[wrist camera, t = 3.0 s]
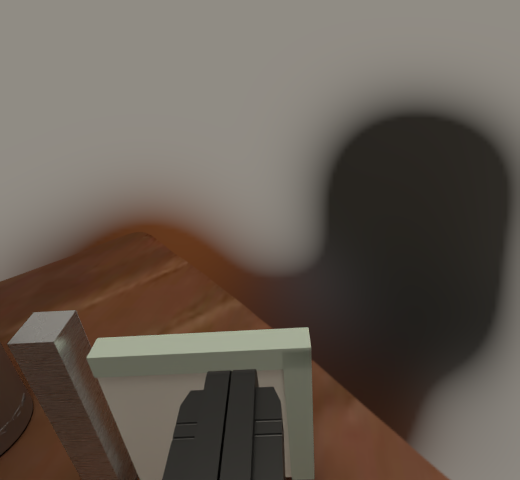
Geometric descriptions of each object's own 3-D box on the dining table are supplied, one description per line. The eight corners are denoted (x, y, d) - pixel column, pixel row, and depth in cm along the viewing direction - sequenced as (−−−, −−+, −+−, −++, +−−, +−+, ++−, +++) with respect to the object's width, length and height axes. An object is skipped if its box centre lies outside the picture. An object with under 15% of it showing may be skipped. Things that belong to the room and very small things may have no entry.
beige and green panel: (139, 484, 27) (86, 358, 21) (146, 461, 29) (97, 338, 22) (314, 479, 26) (310, 347, 20) (312, 457, 28) (308, 327, 22)
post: (95, 503, 28) (7, 344, 20) (108, 467, 30) (33, 312, 22) (129, 502, 27) (53, 341, 20) (139, 467, 30) (75, 310, 22)
